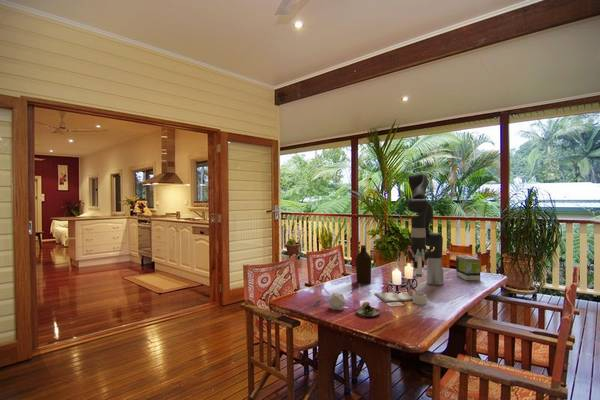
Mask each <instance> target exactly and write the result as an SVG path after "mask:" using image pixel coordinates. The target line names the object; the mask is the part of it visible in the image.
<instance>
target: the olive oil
mask: <svg viewBox="0 0 600 400" xmlns="http://www.w3.org/2000/svg"><path fill="white" fill-rule="evenodd" d="M366 247H367V246H366V245H364V244H362V245H360V252H359V253H358V254H357V255H356V256H355V274H356V283H357V284H359V285H369V284H372V256H371V255H370V254H369V253H368V252H367V248H366Z"/></svg>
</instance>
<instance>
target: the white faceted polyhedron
mask: <svg viewBox="0 0 600 400" xmlns="http://www.w3.org/2000/svg"><path fill="white" fill-rule="evenodd" d="M328 303H329V306H330V308H331V310H334V311H335V310H336V311H342V310H343V308H344V307H345V305H346V304H347V302H346V299H345V296H344V294H343V293H336V292H333V293H332V294H331V296H330V298H328Z"/></svg>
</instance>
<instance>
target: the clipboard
mask: <svg viewBox="0 0 600 400" xmlns="http://www.w3.org/2000/svg"><path fill="white" fill-rule="evenodd" d="M395 292H396V291H390V292H386V291H385V292H374V296H376V297H377V298H379V299H380V300H381V301H382V302H384V303H385V304H386V303H394V302H401V303H403V302H413V293H411V292H409V291H407V292H402V291H400V292H401V293H399V294H397V293H395Z"/></svg>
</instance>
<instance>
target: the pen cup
mask: <svg viewBox="0 0 600 400" xmlns="http://www.w3.org/2000/svg"><path fill="white" fill-rule="evenodd" d="M412 294H413V301H412V302H413V304H415V305H421V306H423V305H427V294H426V293H423V292H413V293H412Z"/></svg>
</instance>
